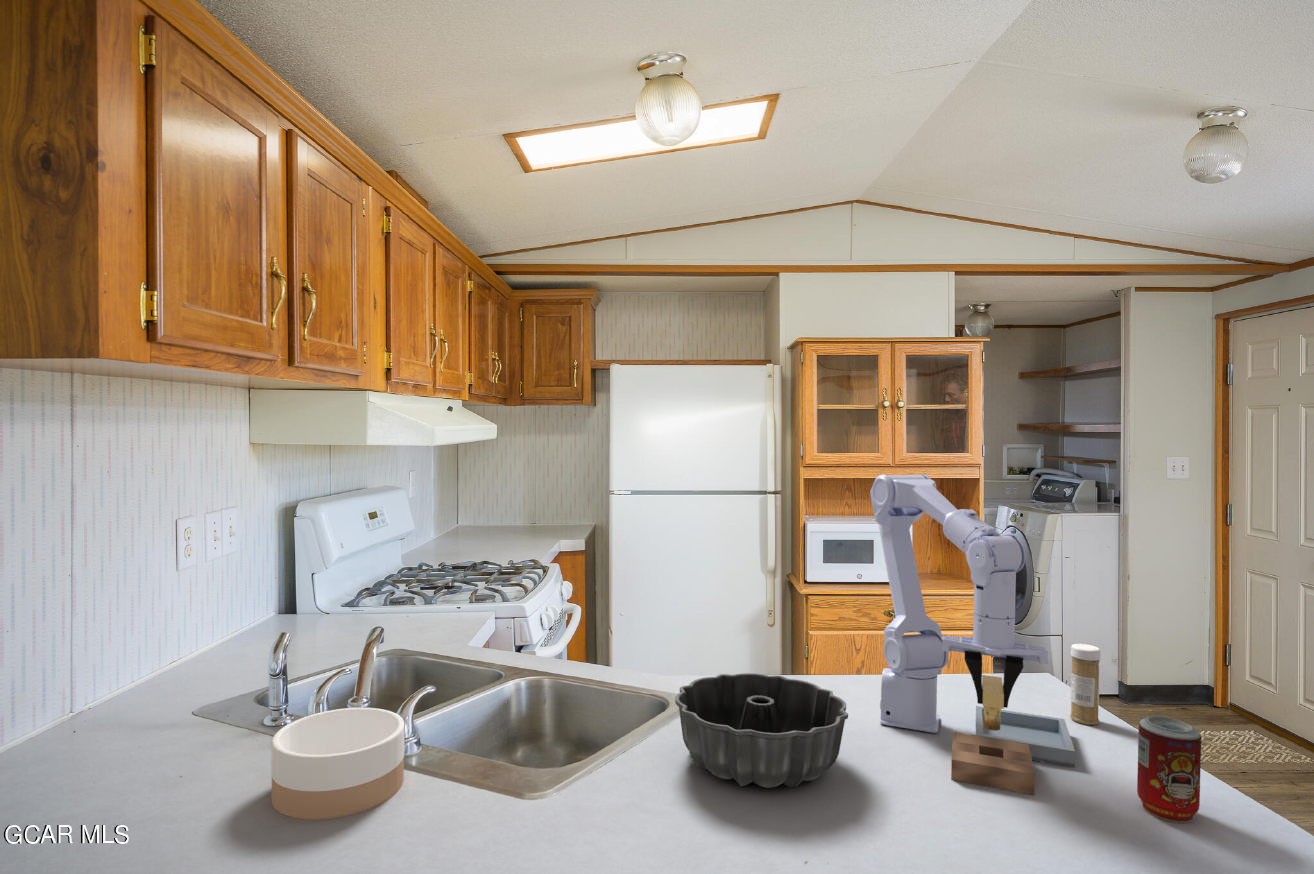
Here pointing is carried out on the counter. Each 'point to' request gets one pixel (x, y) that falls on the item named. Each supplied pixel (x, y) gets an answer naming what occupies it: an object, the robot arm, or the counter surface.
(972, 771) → the slot block
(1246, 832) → the counter surface
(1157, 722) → the soda can
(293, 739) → the bowl
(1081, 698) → the sprinkles bottle
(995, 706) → the t key
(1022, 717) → the tray
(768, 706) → the bundt pan
